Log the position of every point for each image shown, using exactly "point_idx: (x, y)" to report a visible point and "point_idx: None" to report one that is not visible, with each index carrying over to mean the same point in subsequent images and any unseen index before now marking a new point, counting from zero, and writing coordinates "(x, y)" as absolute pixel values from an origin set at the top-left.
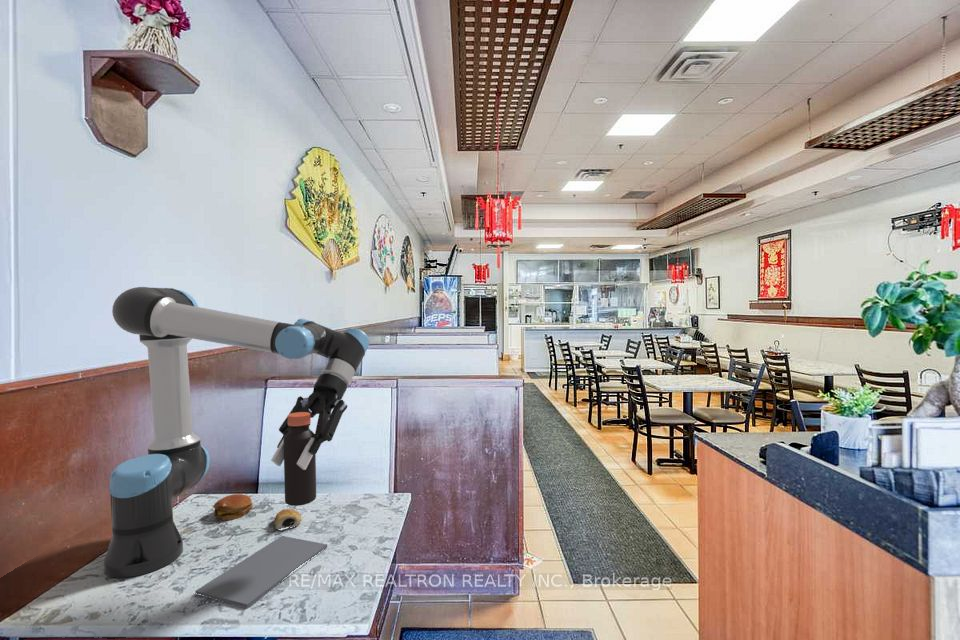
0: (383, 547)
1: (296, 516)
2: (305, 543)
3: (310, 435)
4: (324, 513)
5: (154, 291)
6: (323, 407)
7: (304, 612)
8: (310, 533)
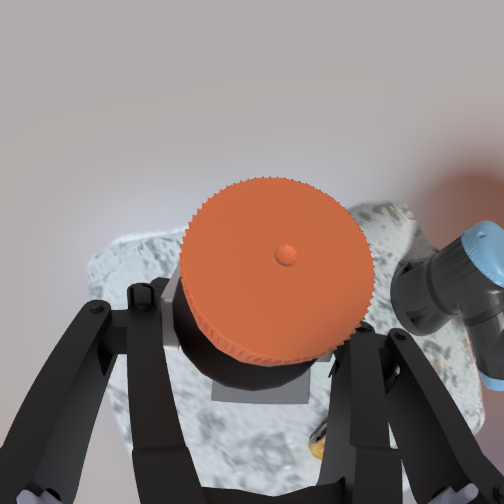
0: (120, 411)
1: (317, 445)
2: (251, 395)
3: (178, 298)
4: (293, 489)
5: None
6: (138, 482)
7: (154, 253)
8: (271, 432)
